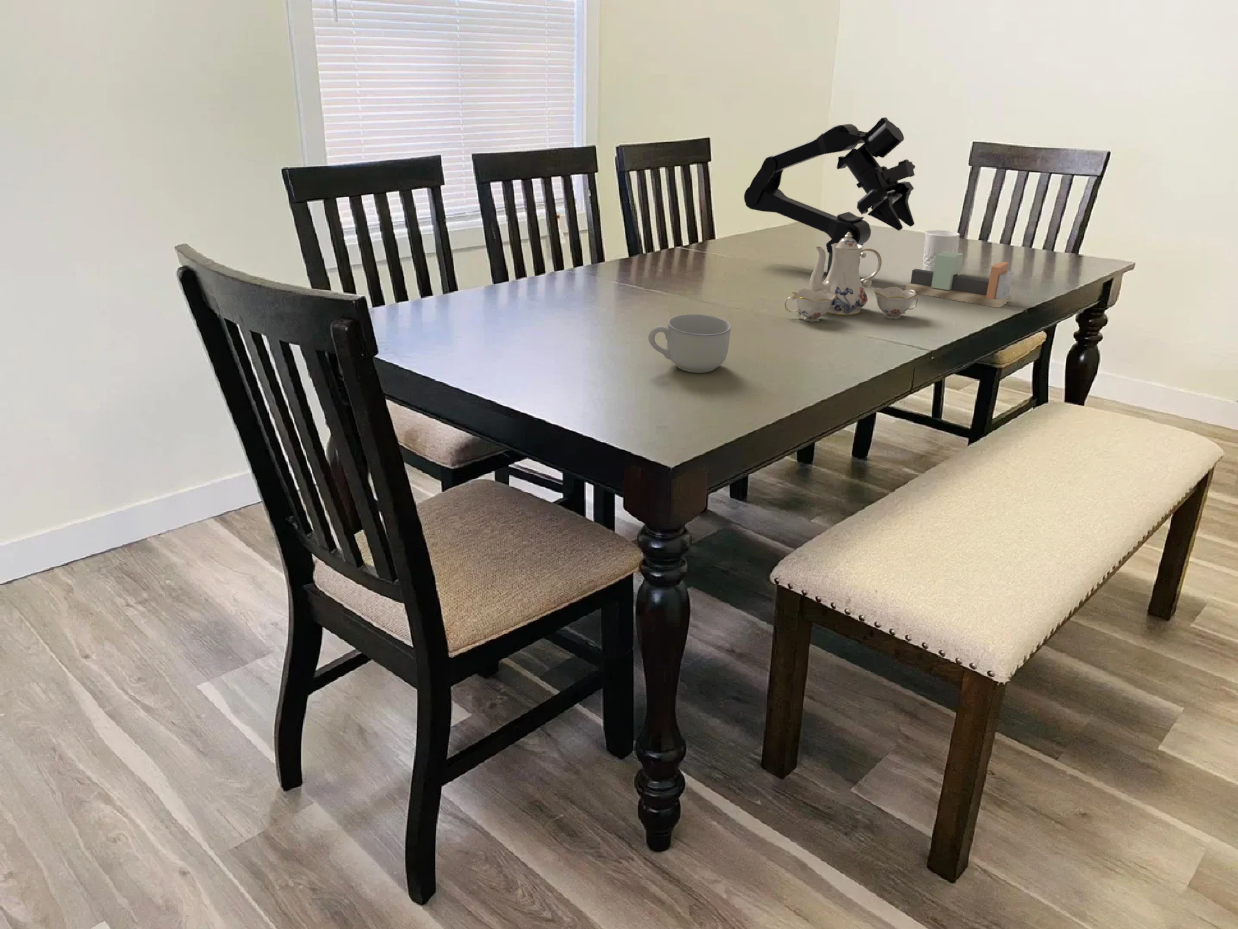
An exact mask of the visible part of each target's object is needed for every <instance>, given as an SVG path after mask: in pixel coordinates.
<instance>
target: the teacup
mask: <svg viewBox="0 0 1238 929" xmlns="http://www.w3.org/2000/svg"><path fill="white" fill-rule="evenodd" d="M731 330H732V324H731V322H729V321H727V320H726V319H724V318H722V317H719V316H715V315H712V314H711V315H710V314H705V313H704V314H703V313H702V314H701V313H686V314H683V313H682V314H678V315H674V316H671V317H670V318H669V319H668V320H667V327H666V326H665V325H661V324H659V325H656V326H654V327H652V328H651V329H650V331H649V333H648V342H649V344H650V346H651V347H652V348H653V349H654V350H655V351H656V352H658V353H660V354H662V355H663V356H664V358H665V359H667V360H670V361H671V362H672V363H673V364H674V365H675V367H677V368H678V369H680V370H682V371H684V372H689V373H695V374H704V373H710V372H712V371H714V370H715V369H717V368H718V367H719V366H721V365H722V364H723V363H724V362H725V361H726V360H727V356H728V352H729V347H730V338H731V337H730V335H731ZM658 333H663V334H664V336H665V339H666V348H665V347H663V346H660V345H659V344H658V343H657V342H656V340H655V339H656V338H655V337H656V335H657V334H658Z"/></svg>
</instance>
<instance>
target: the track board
mask: <svg viewBox="0 0 1238 929" xmlns="http://www.w3.org/2000/svg"><path fill="white" fill-rule="evenodd" d="M905 290H914V291H915V292H916V295H921V296H922V295H923V296H927V295H930V296H929V297H933V296H936V297H935V298H939V297H941V299H945V300H946V299H947V300H952V301H956V302H957V301H958V302H963V301H965V302H964V303H968V302H970V303H969V304H974V303H975V305H981V306H986V307H993V308H998V307H1000V308H1001V307H1002V306H1005V305H1007V304H1008V303H1009V302H1010V300H1011V294H1009V296H1007V297H1006V298H1004V299H1002V300H1000V299H988V298H986V296H985V295H979V294H973V293H967V292H961V291H955V290H945V289H939V288H933V287H930V286H924V285H918V284H912V283H911V282H910V283H909V284H908V283H907V284H906V285H905ZM1007 302H1008V303H1007ZM1004 304H1005V305H1004Z"/></svg>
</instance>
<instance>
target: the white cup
mask: <svg viewBox="0 0 1238 929" xmlns="http://www.w3.org/2000/svg"><path fill="white" fill-rule="evenodd" d="M960 235H961V234H960V233H959V232H956V231H951V230H943V229H933V230H932V229H930V230H929V229H928V230H927V231H925V234H924V244H923V252H922V269H921V270H927V271H934V266H935V260H936V255H937V254H940V253H942V252H945V251H949V252H956V253H957V250H958V245H959V242H960V241H959V239H960Z"/></svg>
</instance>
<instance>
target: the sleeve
mask: <svg viewBox="0 0 1238 929" xmlns="http://www.w3.org/2000/svg"><path fill="white" fill-rule="evenodd" d="M963 257H964V253H962V252H957V251H956V252H949V251H945V252H942V253H940V254H937V255H936V260H935V266H934V273H933V279H932V285H931V287H933V288H939V289H945V290H950V289H951V287H952V281H953V275H960V274H961V269H962V263H963ZM960 276H961V275H960Z"/></svg>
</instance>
